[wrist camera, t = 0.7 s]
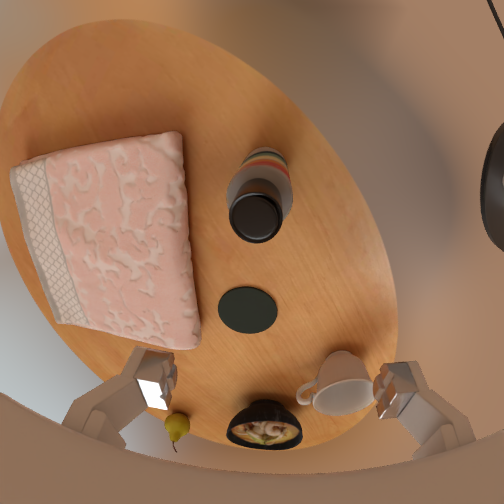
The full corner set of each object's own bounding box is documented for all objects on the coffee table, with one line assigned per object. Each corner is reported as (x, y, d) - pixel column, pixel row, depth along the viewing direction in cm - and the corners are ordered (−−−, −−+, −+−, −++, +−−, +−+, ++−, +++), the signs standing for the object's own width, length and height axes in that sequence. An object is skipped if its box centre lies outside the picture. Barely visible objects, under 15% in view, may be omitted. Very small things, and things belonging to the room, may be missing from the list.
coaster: (217, 284, 46) (216, 285, 46) (279, 288, 46) (279, 289, 45) (219, 329, 51) (219, 331, 50) (274, 333, 50) (274, 335, 50)
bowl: (281, 428, 67) (280, 459, 58) (221, 413, 65) (215, 445, 56) (315, 399, 59) (317, 435, 50) (247, 381, 57) (242, 419, 48)
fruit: (164, 413, 68) (153, 447, 58) (173, 405, 66) (162, 442, 55) (186, 422, 70) (177, 457, 59) (196, 415, 67) (187, 452, 56)
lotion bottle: (287, 186, 38) (297, 256, 20) (245, 188, 39) (218, 258, 21) (285, 145, 36) (296, 177, 18) (242, 147, 36) (208, 182, 18)
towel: (23, 156, 38) (2, 163, 33) (189, 129, 35) (175, 131, 30) (65, 313, 54) (52, 329, 49) (206, 334, 52) (199, 356, 47)
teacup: (292, 344, 51) (293, 387, 42) (370, 334, 49) (383, 374, 40) (297, 382, 56) (298, 420, 48) (365, 373, 54) (373, 410, 45)
